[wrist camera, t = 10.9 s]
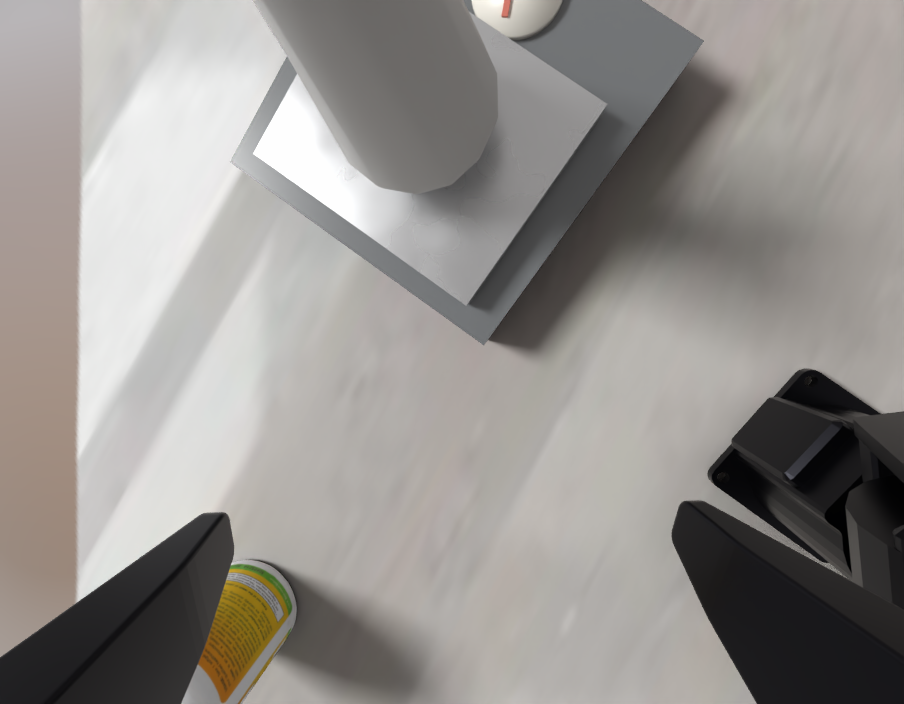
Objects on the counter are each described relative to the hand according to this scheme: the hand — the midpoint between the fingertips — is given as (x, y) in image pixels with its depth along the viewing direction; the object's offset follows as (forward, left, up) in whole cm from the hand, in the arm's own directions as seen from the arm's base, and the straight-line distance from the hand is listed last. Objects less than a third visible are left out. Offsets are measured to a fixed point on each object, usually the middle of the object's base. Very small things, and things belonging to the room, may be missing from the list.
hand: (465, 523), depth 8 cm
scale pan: (+9, -7, -10) cm, 15 cm away
